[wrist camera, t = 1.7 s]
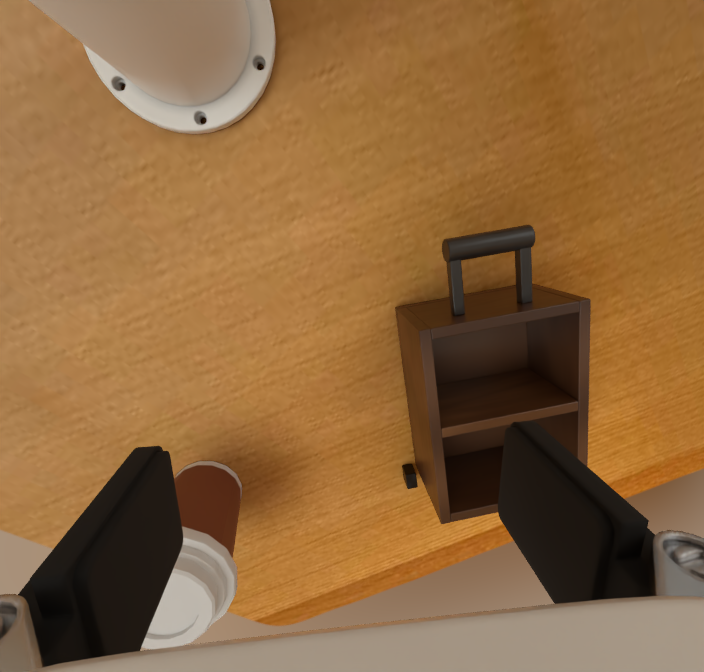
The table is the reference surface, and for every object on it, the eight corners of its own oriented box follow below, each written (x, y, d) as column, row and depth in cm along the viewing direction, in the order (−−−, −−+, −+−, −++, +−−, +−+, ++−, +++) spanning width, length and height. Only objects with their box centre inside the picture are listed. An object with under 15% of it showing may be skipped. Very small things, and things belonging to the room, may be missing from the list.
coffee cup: (150, 522, 37) (77, 656, 25) (164, 439, 35) (91, 545, 23) (246, 536, 38) (218, 668, 27) (265, 457, 36) (243, 565, 25)
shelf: (386, 243, 31) (409, 248, 24) (527, 218, 32) (592, 216, 25) (415, 465, 38) (441, 524, 30) (533, 441, 38) (587, 493, 31)
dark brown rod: (401, 465, 38) (405, 475, 36) (543, 436, 39) (553, 445, 37) (403, 478, 38) (407, 489, 37) (544, 450, 39) (553, 459, 38)
